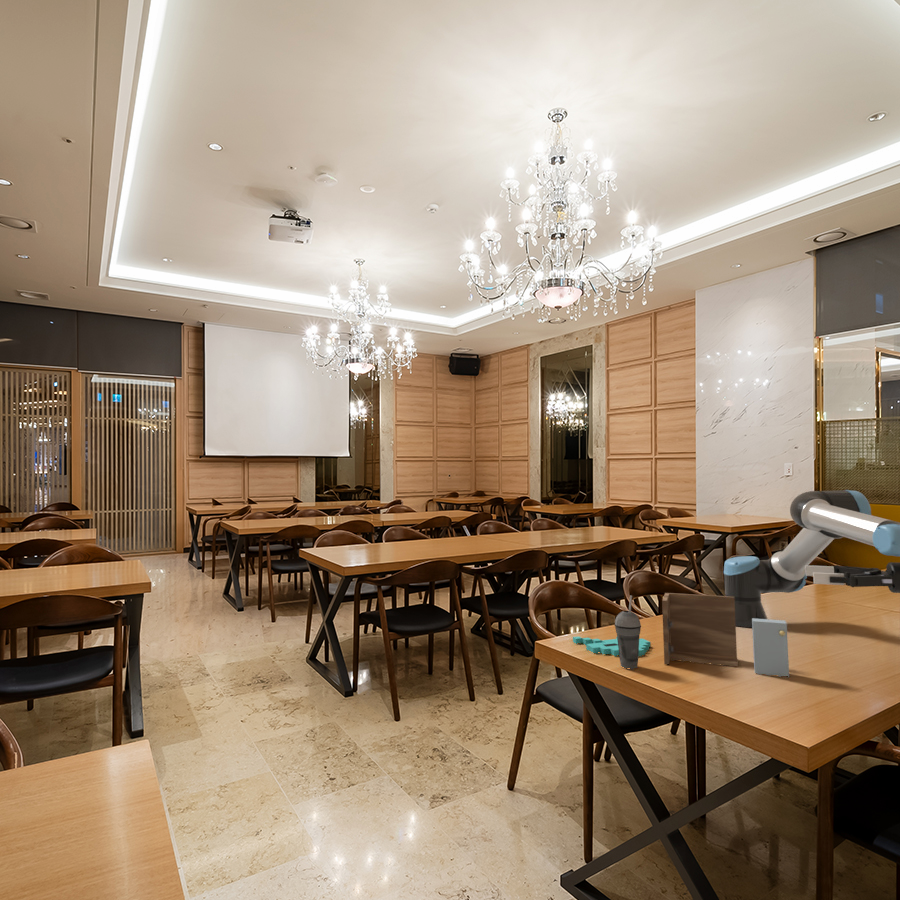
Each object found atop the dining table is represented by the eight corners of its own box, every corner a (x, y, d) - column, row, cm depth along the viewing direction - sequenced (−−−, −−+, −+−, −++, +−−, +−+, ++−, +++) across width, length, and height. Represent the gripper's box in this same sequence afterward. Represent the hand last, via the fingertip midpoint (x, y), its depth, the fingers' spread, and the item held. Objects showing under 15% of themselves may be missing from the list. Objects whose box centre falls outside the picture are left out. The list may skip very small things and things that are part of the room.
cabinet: (667, 652, 178) (665, 592, 179) (736, 659, 170) (734, 596, 171) (664, 664, 167) (662, 600, 168) (738, 672, 159) (735, 605, 160)
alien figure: (572, 643, 191) (604, 661, 172) (572, 636, 191) (604, 654, 172) (627, 638, 196) (663, 655, 177) (626, 631, 196) (663, 647, 177)
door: (754, 669, 161) (752, 618, 162) (787, 673, 158) (785, 620, 158) (755, 675, 157) (753, 622, 157) (789, 678, 153) (787, 624, 154)
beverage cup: (617, 661, 170) (614, 592, 171) (643, 664, 167) (640, 593, 168) (614, 669, 163) (612, 597, 164) (641, 672, 160) (639, 598, 162)
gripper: (926, 602, 134) (818, 597, 143) (895, 585, 157) (803, 581, 166) (924, 569, 135) (816, 566, 143) (893, 556, 158) (802, 554, 166)
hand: (809, 574), depth 155 cm, fingers open, 13 cm apart
